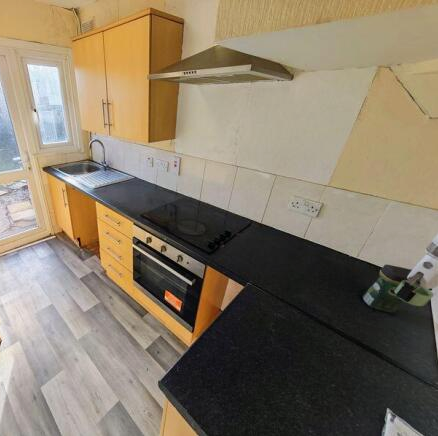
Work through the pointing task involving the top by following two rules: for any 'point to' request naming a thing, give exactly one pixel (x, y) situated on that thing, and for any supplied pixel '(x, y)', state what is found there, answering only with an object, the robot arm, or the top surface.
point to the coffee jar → (386, 289)
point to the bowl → (417, 295)
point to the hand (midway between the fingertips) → (410, 296)
